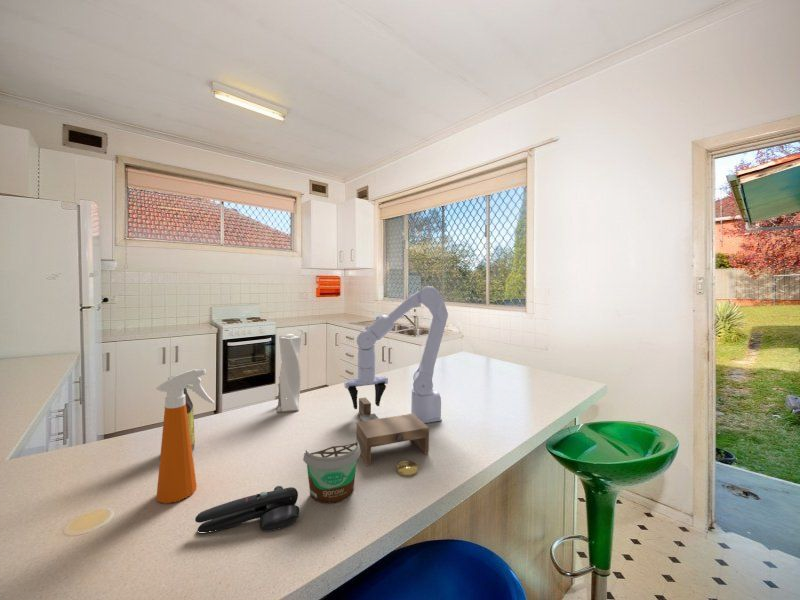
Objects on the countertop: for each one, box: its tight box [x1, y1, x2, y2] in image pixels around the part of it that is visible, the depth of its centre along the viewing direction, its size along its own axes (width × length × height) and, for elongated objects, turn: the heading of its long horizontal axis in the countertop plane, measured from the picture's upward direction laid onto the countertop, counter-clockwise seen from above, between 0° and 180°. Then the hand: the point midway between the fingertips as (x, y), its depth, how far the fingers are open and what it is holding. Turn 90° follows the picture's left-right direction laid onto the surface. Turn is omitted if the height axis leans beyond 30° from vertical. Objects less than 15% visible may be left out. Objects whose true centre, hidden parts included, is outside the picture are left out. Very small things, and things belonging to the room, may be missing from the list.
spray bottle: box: [156, 368, 215, 504], centre depth 70 cm, size 7×11×26 cm, turn 107°
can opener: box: [194, 485, 300, 532], centre depth 62 cm, size 18×7×6 cm, turn 106°
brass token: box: [396, 460, 418, 477], centre depth 80 cm, size 5×5×1 cm
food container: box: [302, 439, 361, 505], centre depth 70 cm, size 12×6×10 cm, turn 117°
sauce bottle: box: [167, 375, 196, 451], centre depth 87 cm, size 7×6×20 cm
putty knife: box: [358, 396, 380, 422], centre depth 106 cm, size 5×22×5 cm, turn 23°
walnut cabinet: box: [355, 413, 430, 467], centre depth 89 cm, size 17×11×7 cm, turn 113°
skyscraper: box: [276, 329, 303, 414], centre depth 117 cm, size 8×8×28 cm
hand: (366, 406), depth 112 cm, fingers open, 7 cm apart
